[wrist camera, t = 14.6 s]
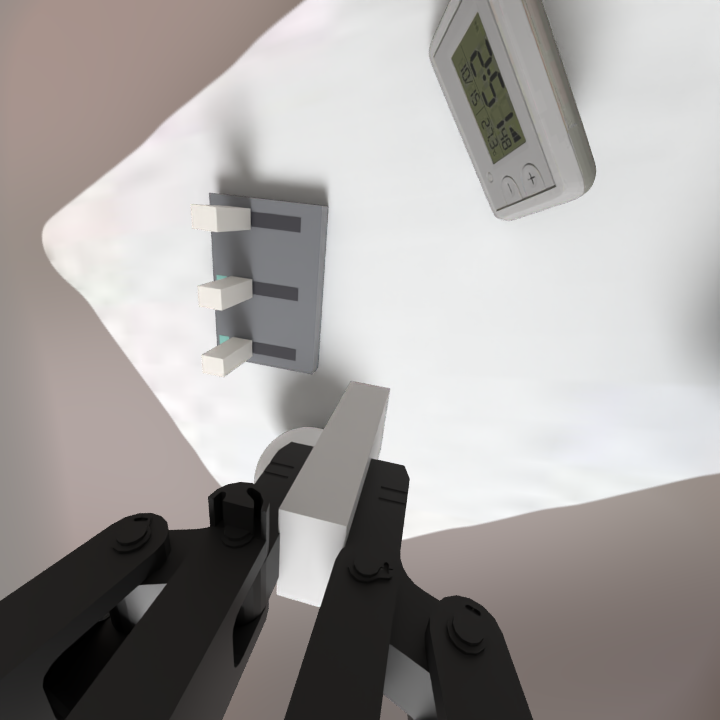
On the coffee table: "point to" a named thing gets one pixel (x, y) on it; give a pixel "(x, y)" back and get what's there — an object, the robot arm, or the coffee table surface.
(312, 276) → the board
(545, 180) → the digital clock
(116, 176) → the coffee table surface
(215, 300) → the breaker
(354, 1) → the coffee table surface
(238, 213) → the breaker
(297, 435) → the decorative ball
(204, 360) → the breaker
